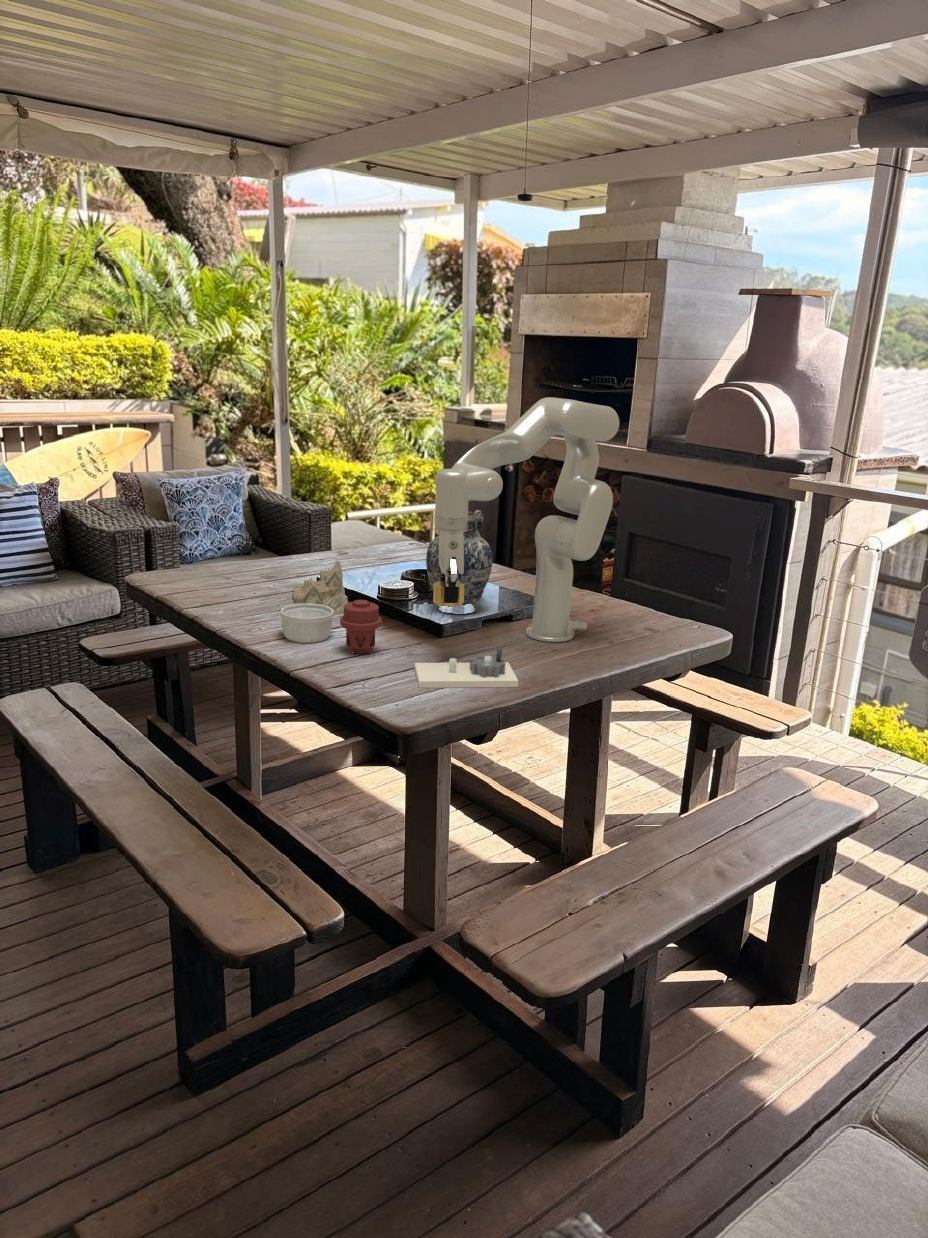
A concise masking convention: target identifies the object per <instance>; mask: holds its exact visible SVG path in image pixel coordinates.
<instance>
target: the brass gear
mask: <svg viewBox="0 0 928 1238" xmlns="http://www.w3.org/2000/svg"><path fill="white" fill-rule="evenodd" d="M444 586H446V581H437V582H436V584H434V590H433V596H432V597H433V600H432V601H433V604H437V606H438V607H439V606H448V607H453V606H456V605H457V606H461V605H462V603H464V584H461V583H460V582H459V581H458V602H457V603H444Z"/></svg>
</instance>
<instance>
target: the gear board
mask: <svg viewBox="0 0 928 1238" xmlns="http://www.w3.org/2000/svg"><path fill="white" fill-rule="evenodd" d="M502 656H503V648H502V647H496V657H495V656H494V655H483V656H482V655H476V657H475V658H474V657H473V658H472V657H471V658H470V661H469V662H457V660H458V659H457V658H456V657H450V658H449V661H448V662H414V672H415V675H416V679H417V683H418V687H419V689H433V688H434V689H436V688H439V689H440V688H441V689H442V688H446V689H447V688H457V689H459V688H519V679H518V678H517V675H516V674H515V672H514V670H513V668H512V667H511V665H510V662H505V658H502Z"/></svg>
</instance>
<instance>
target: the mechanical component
mask: <svg viewBox="0 0 928 1238" xmlns="http://www.w3.org/2000/svg"><path fill="white" fill-rule="evenodd" d="M379 609H380V608H379V605H378V604H376V603H374V602H370V601H369V600H367V599H356V600H353V601H351V602H348V603H347V604H345V605H344V614H343V615H342V616H341V617H340V618H339V625H340V626H341V627H342V628H344V629H345V631H346V633H345V635H346V636H345V637H346V638H345V644H346V646H347V652H348V653H349V652H350V653H349V654H355V653H354V652H364V653H363V654H368V653H370V654H373V651H374V647H375V645H376V630H377V629H379V628H381V627H382V625H383V620H382V617H381V616H379V611H380V610H379ZM352 652H353V653H352Z"/></svg>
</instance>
